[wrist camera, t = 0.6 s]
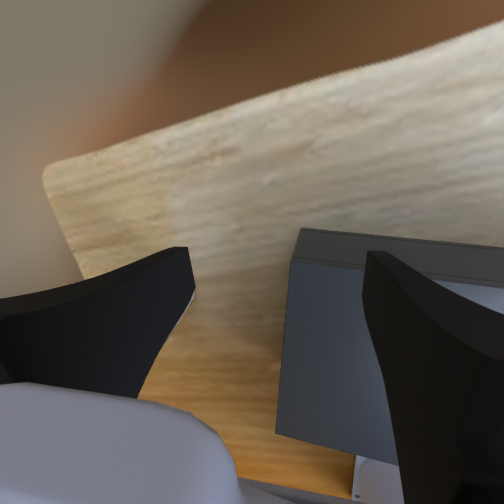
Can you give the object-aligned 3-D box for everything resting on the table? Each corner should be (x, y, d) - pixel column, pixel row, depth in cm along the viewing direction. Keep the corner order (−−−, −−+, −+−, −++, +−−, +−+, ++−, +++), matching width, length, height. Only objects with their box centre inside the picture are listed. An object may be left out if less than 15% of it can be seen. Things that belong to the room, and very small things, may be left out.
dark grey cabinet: (523, 249, 18) (629, 303, 12) (460, 400, 23) (511, 496, 17) (301, 227, 21) (290, 261, 15) (287, 364, 26) (274, 433, 20)
